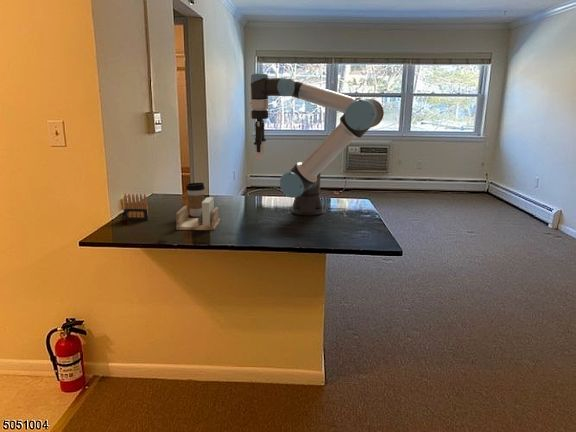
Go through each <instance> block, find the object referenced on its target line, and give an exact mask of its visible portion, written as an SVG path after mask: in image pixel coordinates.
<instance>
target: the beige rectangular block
mask: <svg viewBox="0 0 576 432" xmlns="http://www.w3.org/2000/svg"><path fill="white" fill-rule="evenodd" d="M214 198H215V197H211V196H209V197H205V198H204V201H203V202H202V219H203V226H210V225H211V224H212V215H211V212H212V211H213V210H214V208H215V203H214V202H215V201H214V200H215V199H214Z"/></svg>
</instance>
